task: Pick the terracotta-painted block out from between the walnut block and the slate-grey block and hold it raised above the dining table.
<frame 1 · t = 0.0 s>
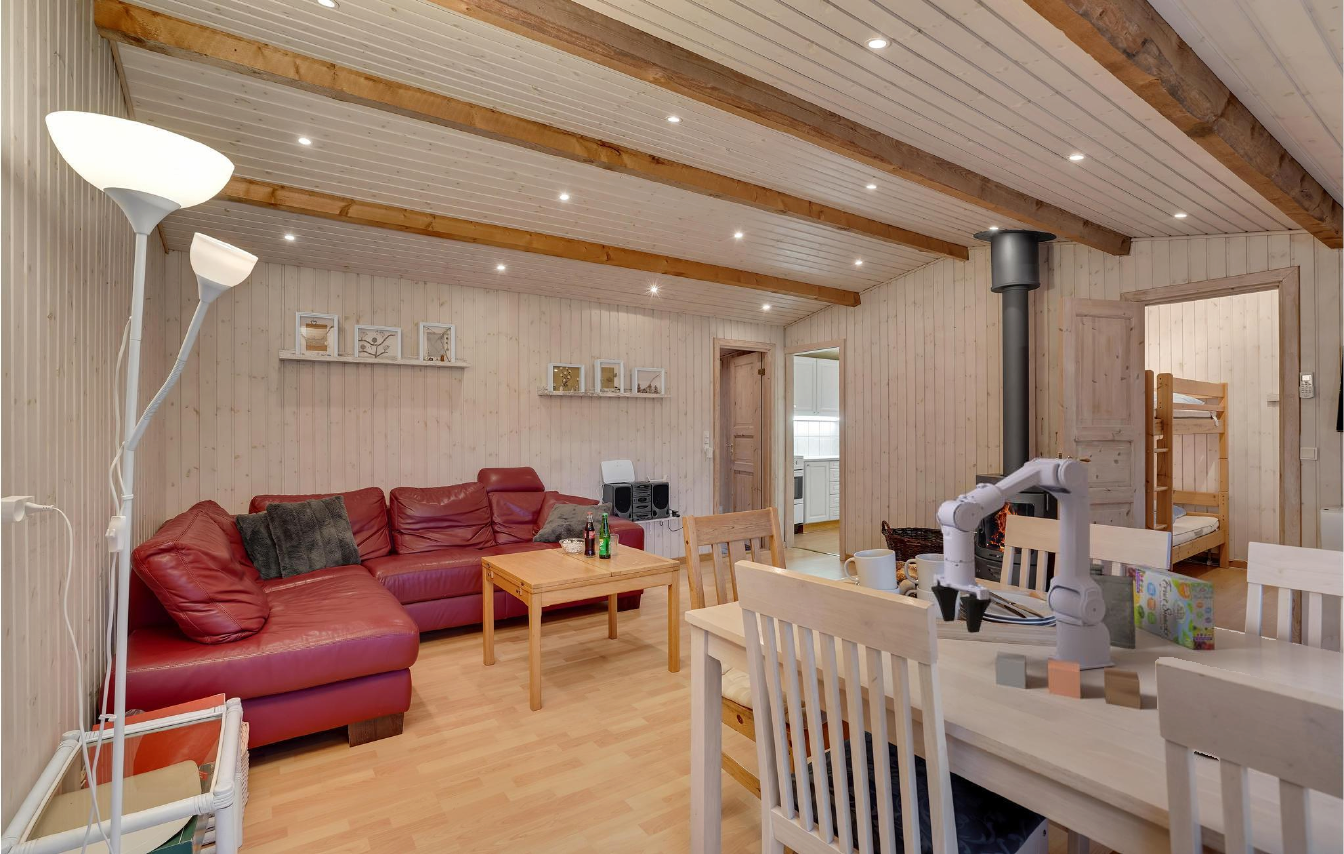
hand: (960, 626, 127), 10 cm above the table, tool pointing down, fingers open, 7 cm apart
dark grey slab: (1098, 641, 146), on the table
terracotta block: (1064, 691, 118), on the table
walnut block: (1122, 701, 113), on the table
snack box: (1167, 636, 149), on the table
slate block: (1011, 682, 123), on the table
mug: (1207, 746, 97), on the table
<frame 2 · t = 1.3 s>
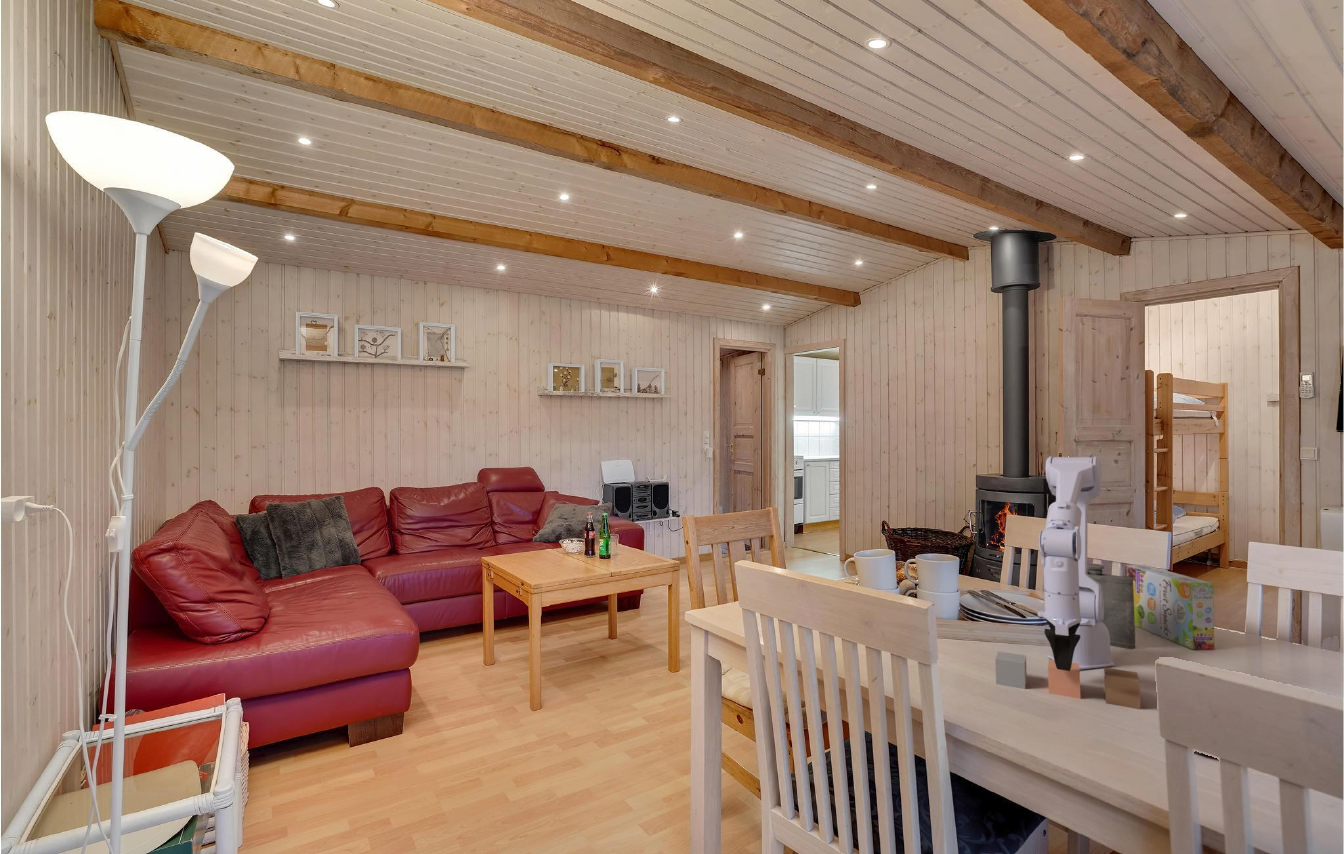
hand: (1063, 662, 118), 5 cm above the table, tool pointing down, fingers open, 7 cm apart
nothing on the table moved.
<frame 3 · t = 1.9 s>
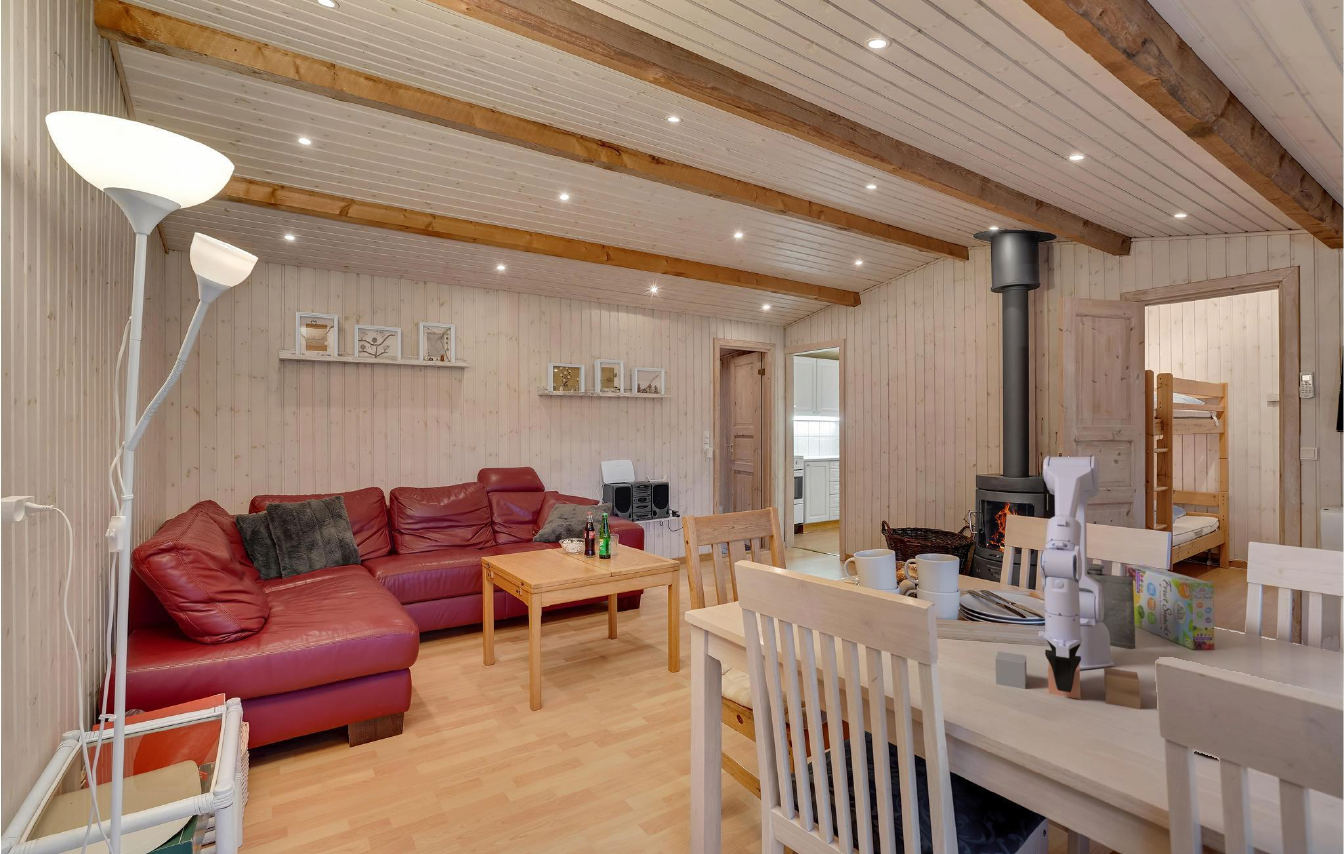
hand: (1064, 683, 118), 1 cm above the table, tool pointing down, fingers open, 7 cm apart
nothing on the table moved.
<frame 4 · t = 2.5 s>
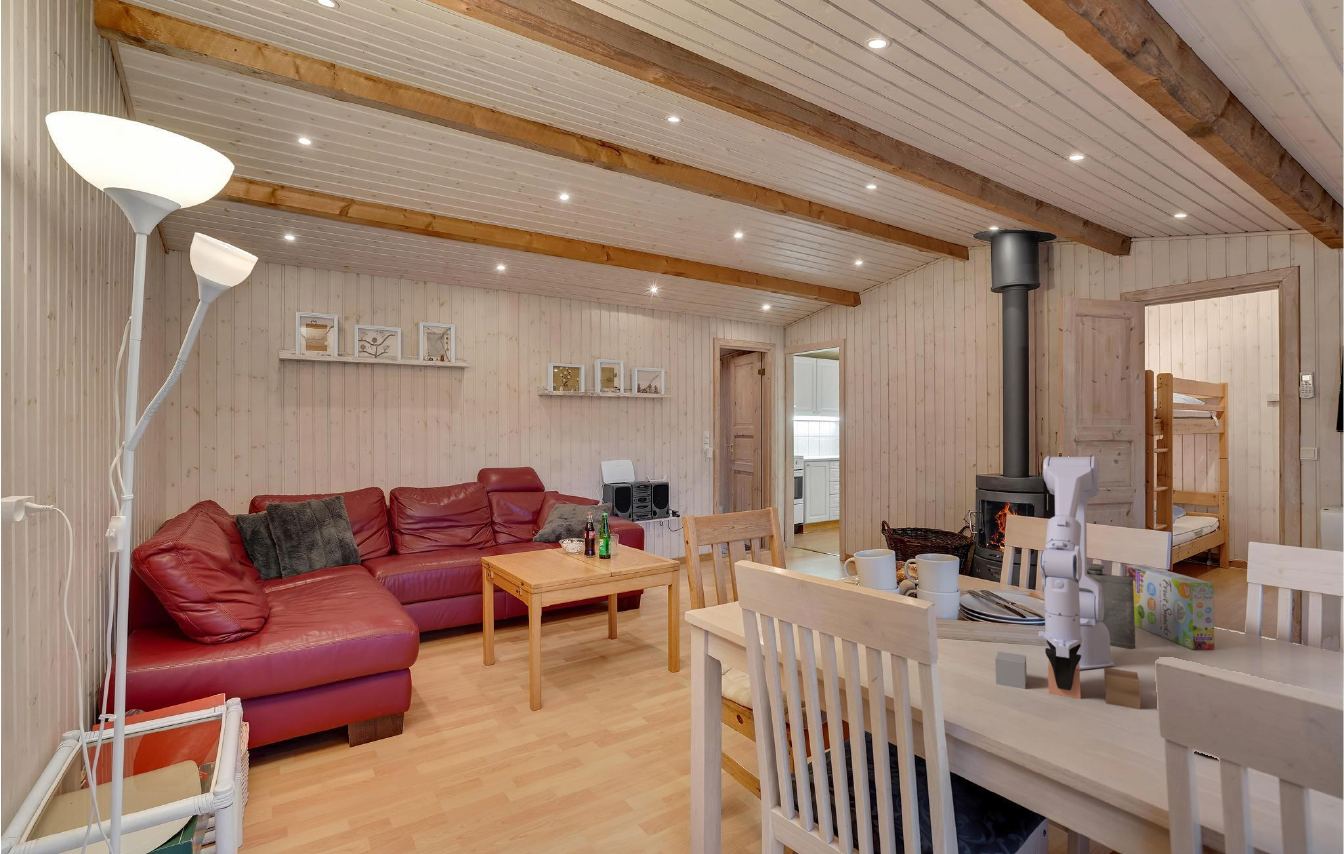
hand: (1064, 683, 118), 1 cm above the table, tool pointing down, fingers closed on terracotta block, 5 cm apart
terracotta block: (1064, 691, 118), on the table, touching gripper
everything else where it was.
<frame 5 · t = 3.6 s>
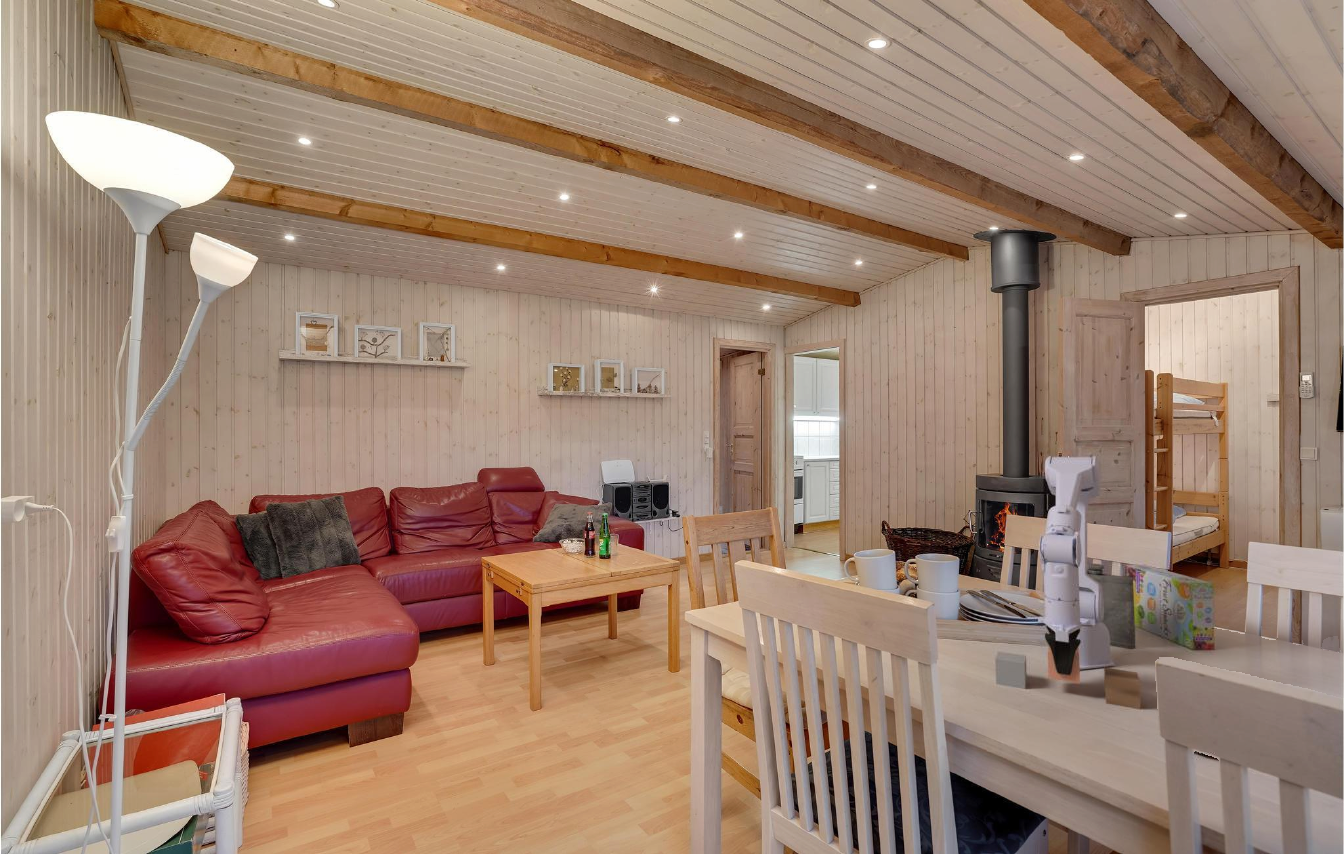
hand: (1063, 668, 118), 4 cm above the table, tool pointing down, fingers closed on terracotta block, 5 cm apart
terracotta block: (1064, 676, 118), point 3 cm above the table, touching gripper
everything else where it was.
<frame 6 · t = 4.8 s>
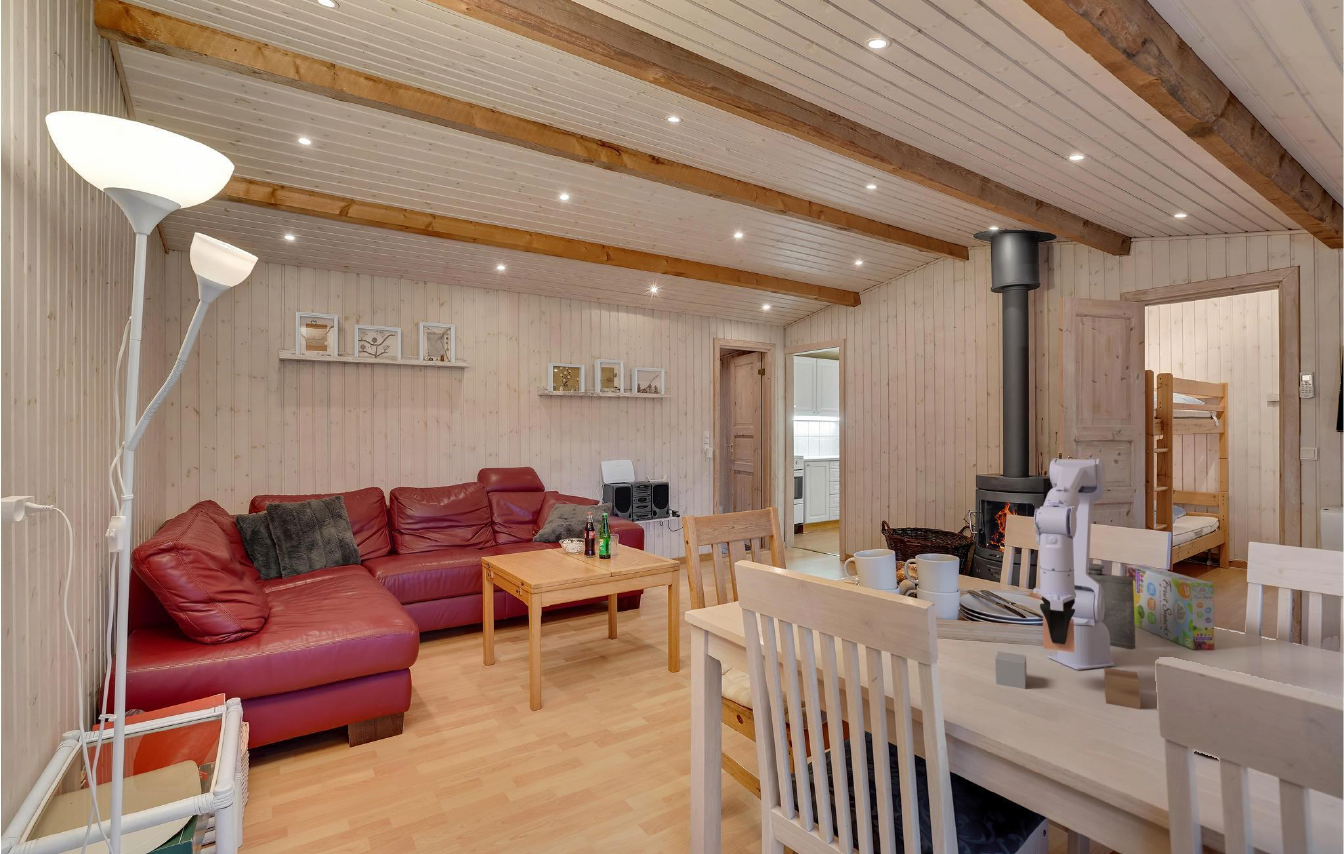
hand: (1058, 638, 120), 9 cm above the table, tool pointing down, fingers closed on terracotta block, 5 cm apart
terracotta block: (1059, 646, 120), point 8 cm above the table, touching gripper
everything else where it was.
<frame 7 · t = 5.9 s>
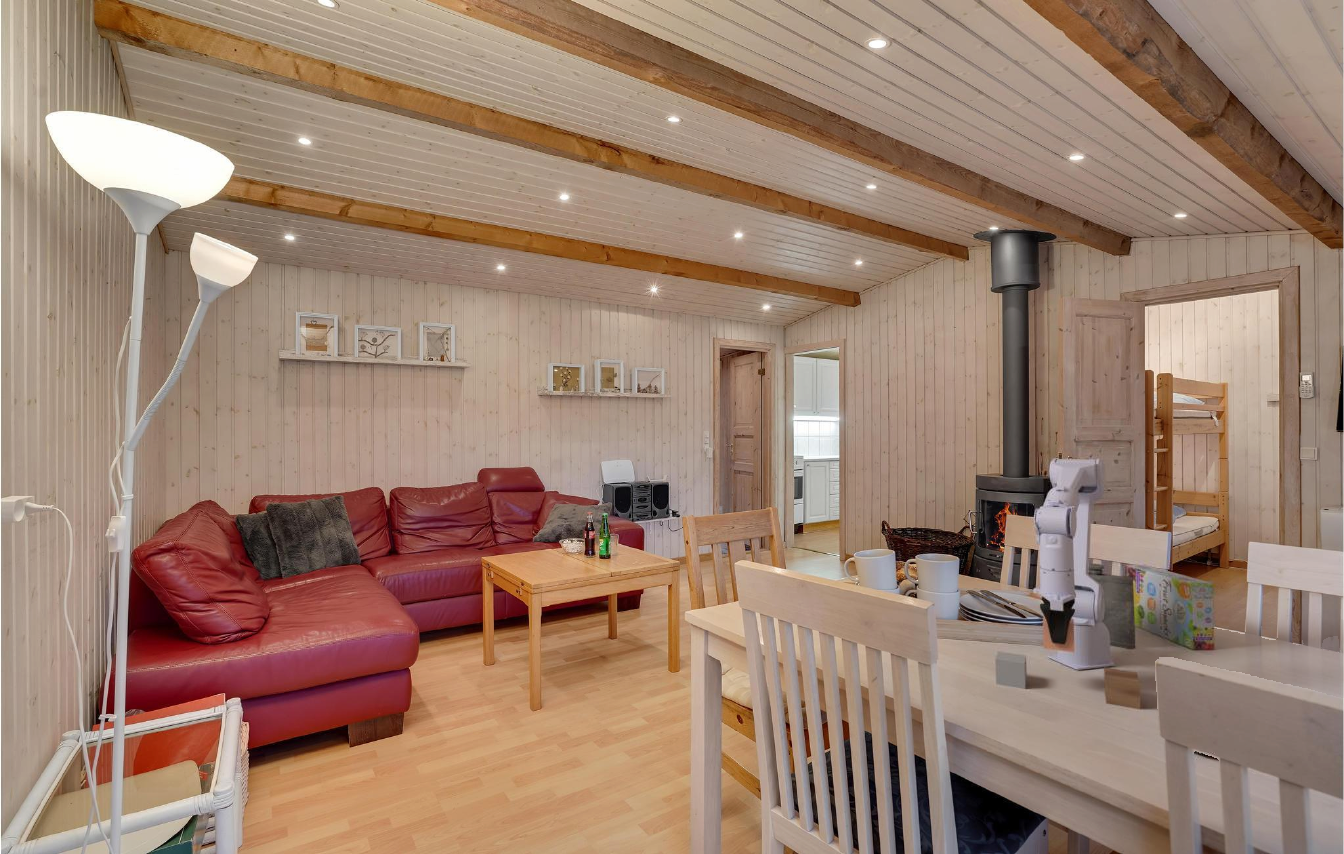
hand: (1058, 638, 120), 9 cm above the table, tool pointing down, fingers closed on terracotta block, 5 cm apart
terracotta block: (1059, 646, 120), point 8 cm above the table, touching gripper
everything else where it was.
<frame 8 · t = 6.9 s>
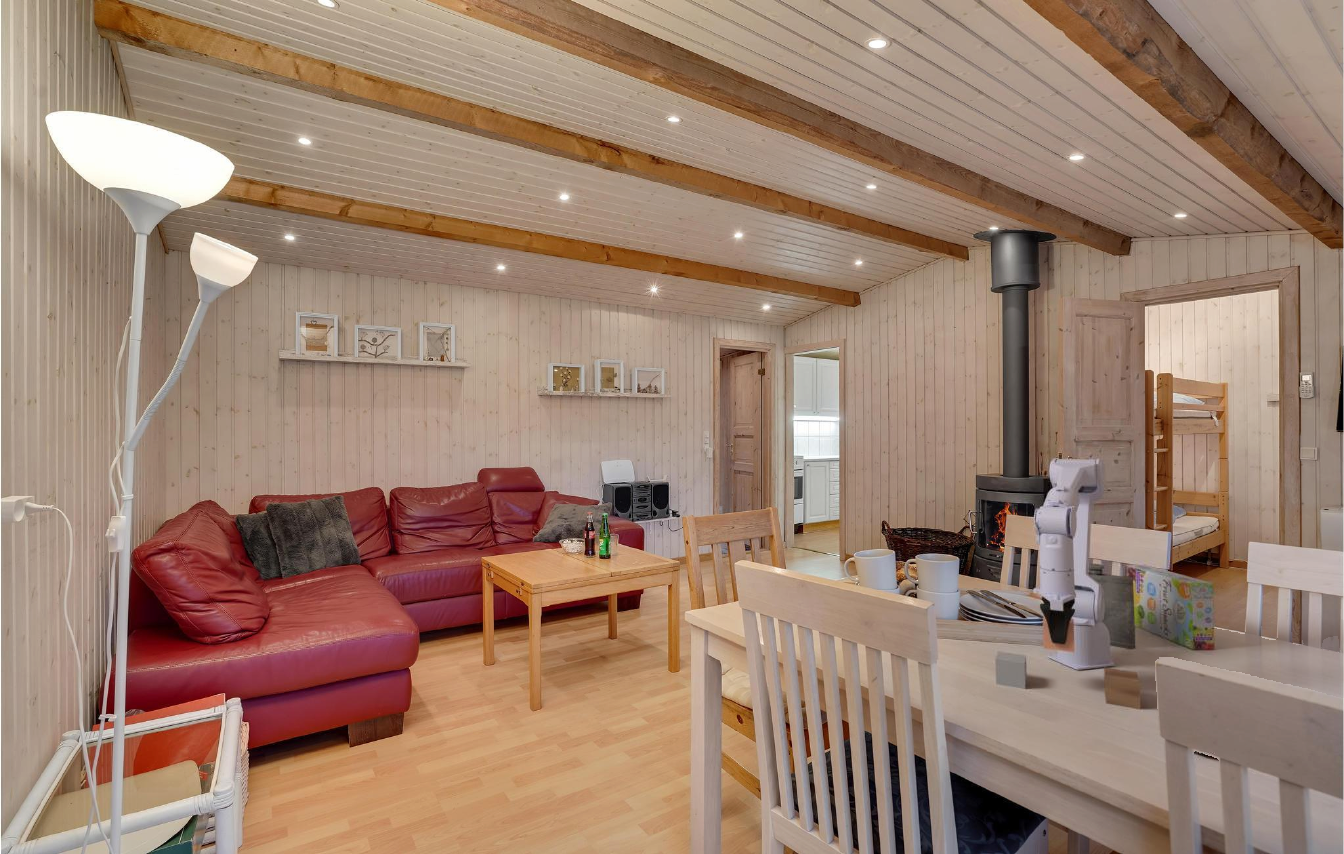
hand: (1058, 638, 120), 9 cm above the table, tool pointing down, fingers closed on terracotta block, 5 cm apart
terracotta block: (1059, 646, 120), point 8 cm above the table, touching gripper
everything else where it was.
at the end: terracotta block point 8.0 cm above the table; walnut block moved 0.1 cm from its start; slate block moved 0.1 cm from its start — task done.
